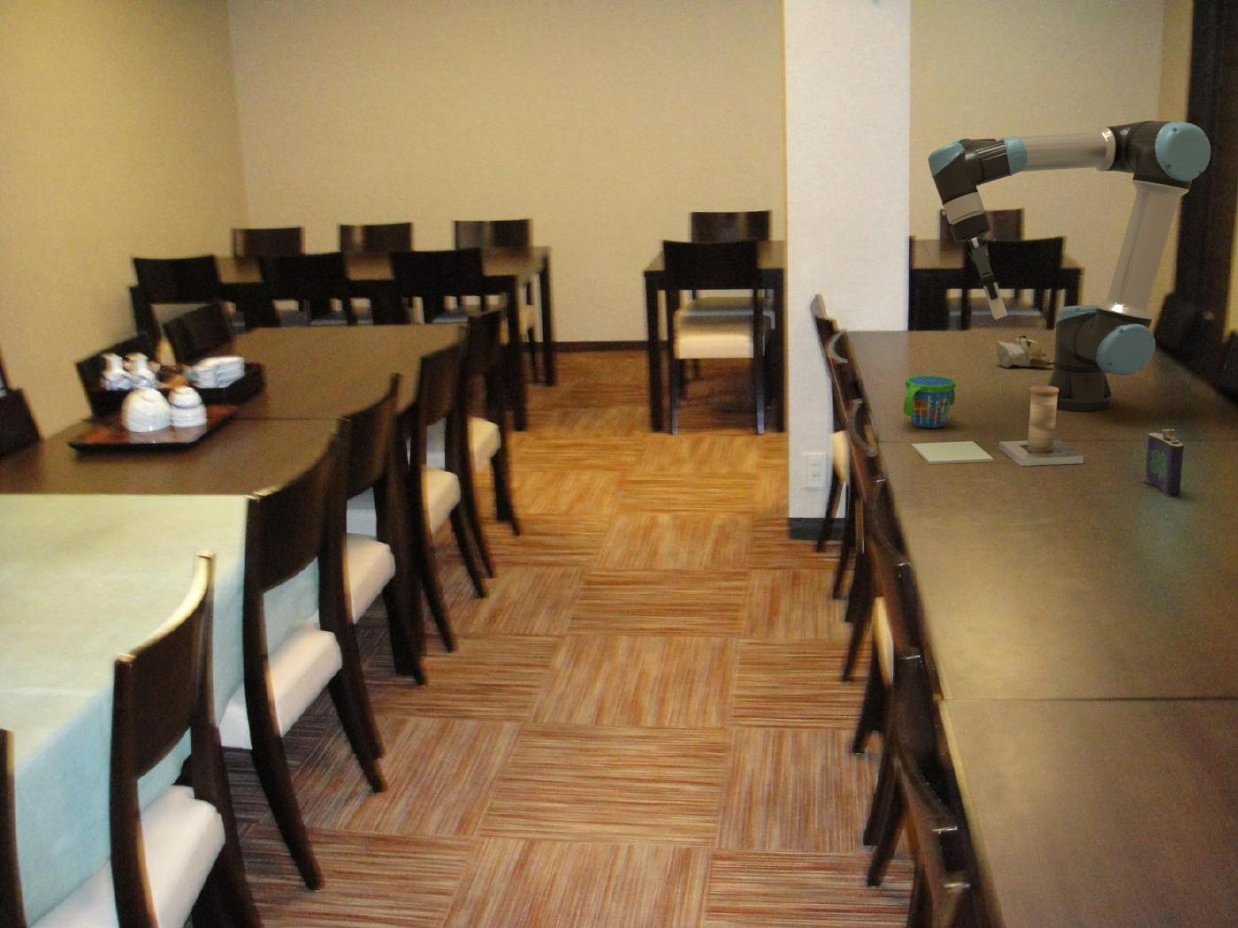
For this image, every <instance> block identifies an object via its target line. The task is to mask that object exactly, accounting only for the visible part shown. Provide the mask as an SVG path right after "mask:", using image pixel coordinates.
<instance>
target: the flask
mask: <svg viewBox="0 0 1238 928" xmlns="http://www.w3.org/2000/svg"><path fill="white" fill-rule="evenodd" d="M1173 432H1175V429H1174V428H1172V429H1171V428H1170V429H1169V428H1166V429H1165V428H1163V429H1161V433H1158V432H1151V433H1148V434H1147V444H1146V453H1145V454H1146V455H1145V464H1144V472H1143V483H1144V484H1145V485H1146V486H1150V487H1151V488H1152V489H1154V490H1157V491H1159V492H1161V493H1162V494H1163V495H1166V496H1168V497H1172V498H1176V497H1180V496H1181V483H1182V471H1183V470H1182V469H1183V460H1184V459H1183V457H1184V450H1185V449H1184V447H1185V445H1184V444H1183V443H1181V442H1180V440H1178V439H1176V437H1175V435H1174V434H1172V433H1173Z"/></svg>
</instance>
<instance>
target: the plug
mask: <svg viewBox="0 0 1238 928" xmlns="http://www.w3.org/2000/svg"><path fill="white" fill-rule="evenodd" d="M1029 389H1030V391H1029V392H1030V405H1029V406H1030V407H1029V419H1028V420H1029V421H1028V436H1027V440H1028V449H1027V452H1029V453H1030V454H1041V453H1053V449H1054V439H1055V435H1056V433H1055V431H1056V422H1057V421H1056V420H1057V409H1058V408H1057V394H1058V393H1059V389H1058V388H1056V387H1052V386H1047V385H1033V386H1031V387H1030V388H1029Z"/></svg>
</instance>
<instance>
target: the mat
mask: <svg viewBox="0 0 1238 928" xmlns="http://www.w3.org/2000/svg"><path fill="white" fill-rule="evenodd" d="M911 448H912V449H913V450H914V451H915V452H916V453H918V454H919V456H920V457H922V458H923V460H924V461H925V462H926V463H927V464H929V465H940V464H941V465H943V464H965V463H989V462H991V463H992V462H994V458H993V457H992V456H991V455H990V454H989V453H987V452H986V451H985V450H984V449H983V448H981V447H980V446H979V445H978V444H977V443H975V442H974V441H972V440H971V441H967V440H966V441H947V442H924V443H922V442H921V443H911Z"/></svg>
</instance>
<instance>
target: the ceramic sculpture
mask: <svg viewBox="0 0 1238 928" xmlns="http://www.w3.org/2000/svg"><path fill="white" fill-rule="evenodd" d="M996 355H997V356H998V361H999V363H1000V365H1001V367H1003V368H1006V369H1007V368H1009V367H1011V366H1012V365H1014V366H1018V367H1020V368H1032V367H1037V368H1044V367H1045V368H1046V367H1049V366H1052V365H1054V360H1053V359H1050V358H1049V357H1046V355H1047V353H1043V352H1042V346H1041V345H1040V343H1038V342H1037V341H1035V340H1033V339H1028V337H1027V336H1026V335H1020V336H1018V337H1016V338H1015V339H1014V340H1013V341H1012V342H1004V341H1000V340H997V341H996Z"/></svg>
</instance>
